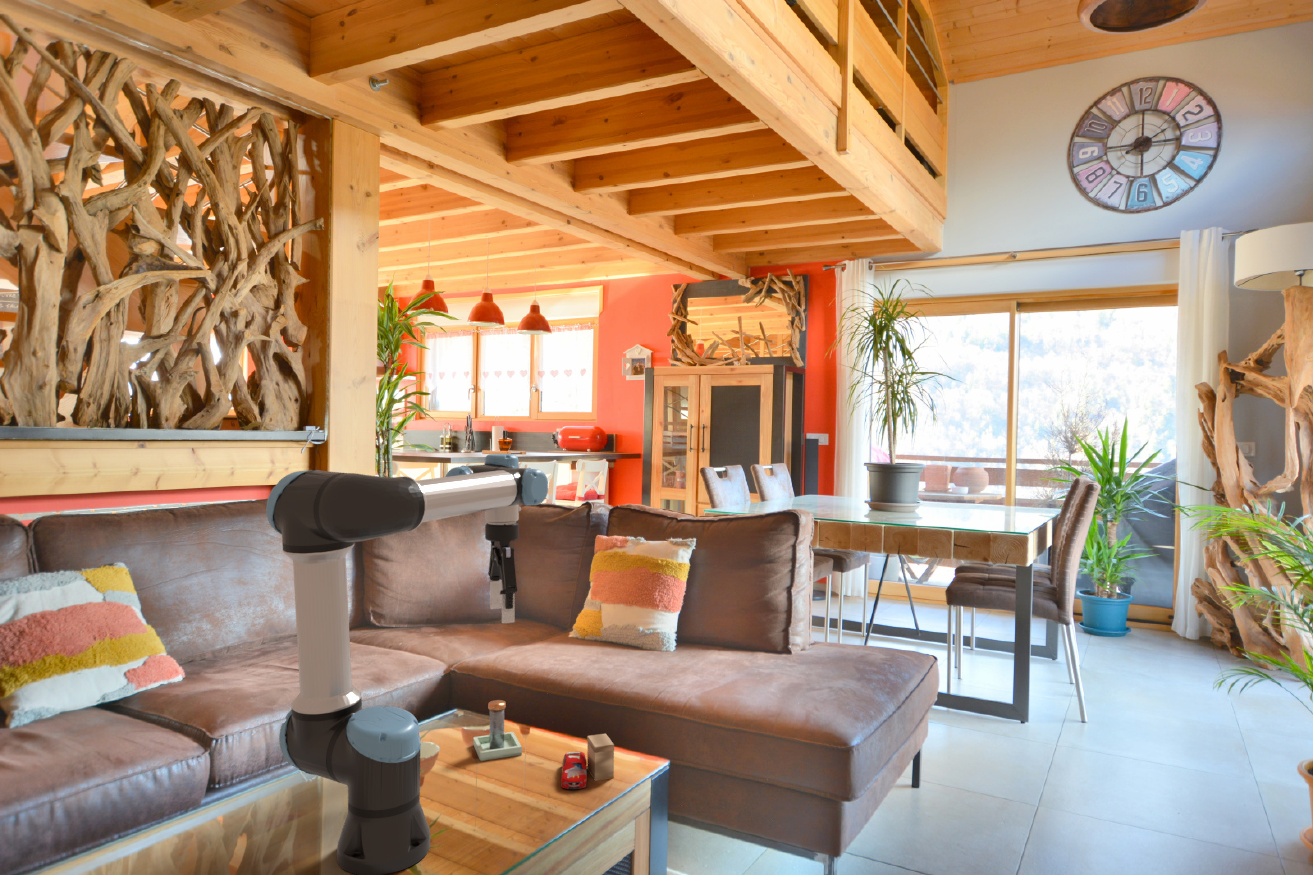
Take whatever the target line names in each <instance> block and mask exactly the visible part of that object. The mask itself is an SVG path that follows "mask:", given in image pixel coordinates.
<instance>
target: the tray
mask: <svg viewBox="0 0 1313 875" xmlns="http://www.w3.org/2000/svg"><path fill="white" fill-rule="evenodd" d="M472 738H473V739H472V742H473V747H474V749H475V753H476V754H477V757H478V759H479V761H480V762H484V761H491V760H495V759H496V760H497V759H503V758H508V757H509V758H510V757H516V756H522V755H523V747H522V746H523V745H521V743H520V741H519V739H518V737H517V735H516V733H515V732H514V731H508V732H504V748H499V749H492V750H490V734H486V735H480V736H474V737H472Z"/></svg>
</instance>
